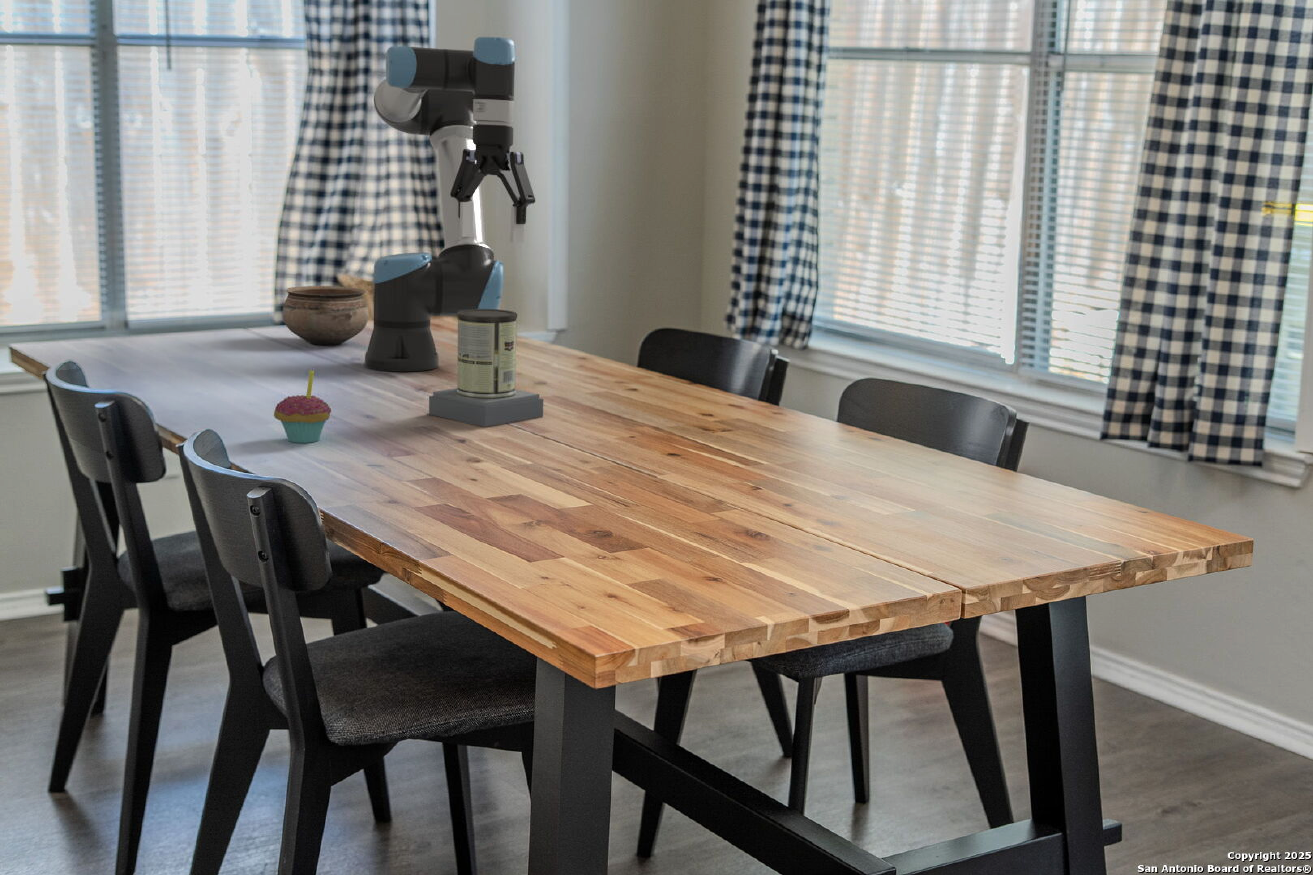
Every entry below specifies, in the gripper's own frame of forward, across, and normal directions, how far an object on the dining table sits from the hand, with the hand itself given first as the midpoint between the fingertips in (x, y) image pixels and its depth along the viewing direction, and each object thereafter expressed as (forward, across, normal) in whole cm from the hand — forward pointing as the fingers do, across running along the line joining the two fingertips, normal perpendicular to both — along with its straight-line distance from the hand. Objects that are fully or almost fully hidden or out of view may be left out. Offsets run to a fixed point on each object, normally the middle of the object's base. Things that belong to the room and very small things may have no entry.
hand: (491, 239), depth 258 cm
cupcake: (+29, +14, -54) cm, 63 cm away
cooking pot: (+29, -63, +10) cm, 70 cm away
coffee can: (+25, +18, -18) cm, 36 cm away
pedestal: (+29, +18, -18) cm, 38 cm away
